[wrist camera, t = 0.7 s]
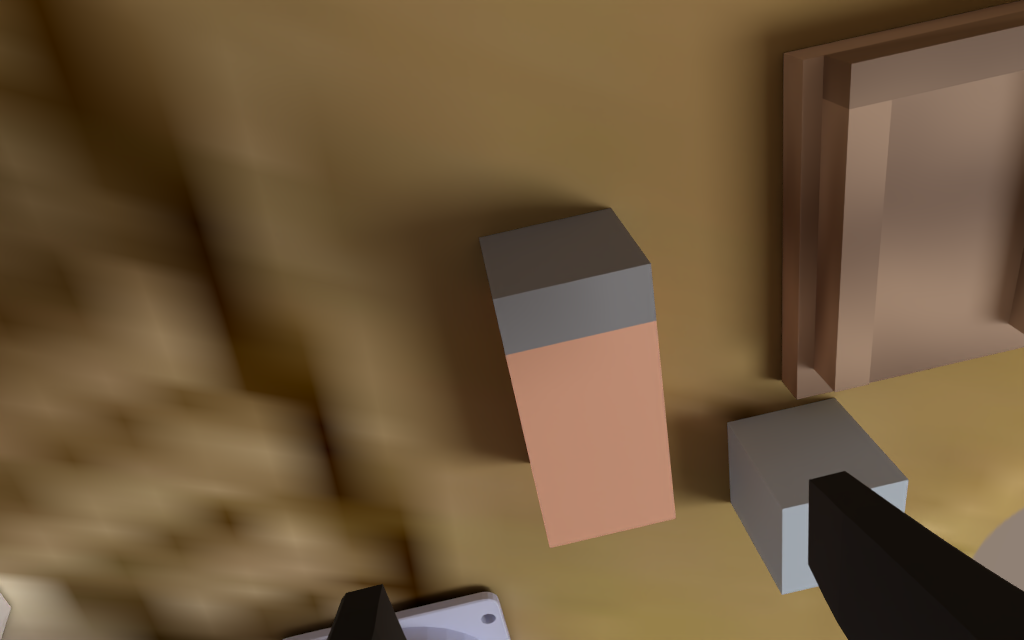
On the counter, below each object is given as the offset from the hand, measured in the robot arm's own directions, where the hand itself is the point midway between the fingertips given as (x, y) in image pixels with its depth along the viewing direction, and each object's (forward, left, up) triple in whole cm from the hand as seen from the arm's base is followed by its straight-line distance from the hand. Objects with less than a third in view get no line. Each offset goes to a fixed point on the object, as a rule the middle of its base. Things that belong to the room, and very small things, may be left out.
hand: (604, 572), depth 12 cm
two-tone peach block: (-2, -1, -10) cm, 10 cm away
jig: (0, -12, -9) cm, 15 cm away
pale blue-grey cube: (-8, -8, -10) cm, 14 cm away
